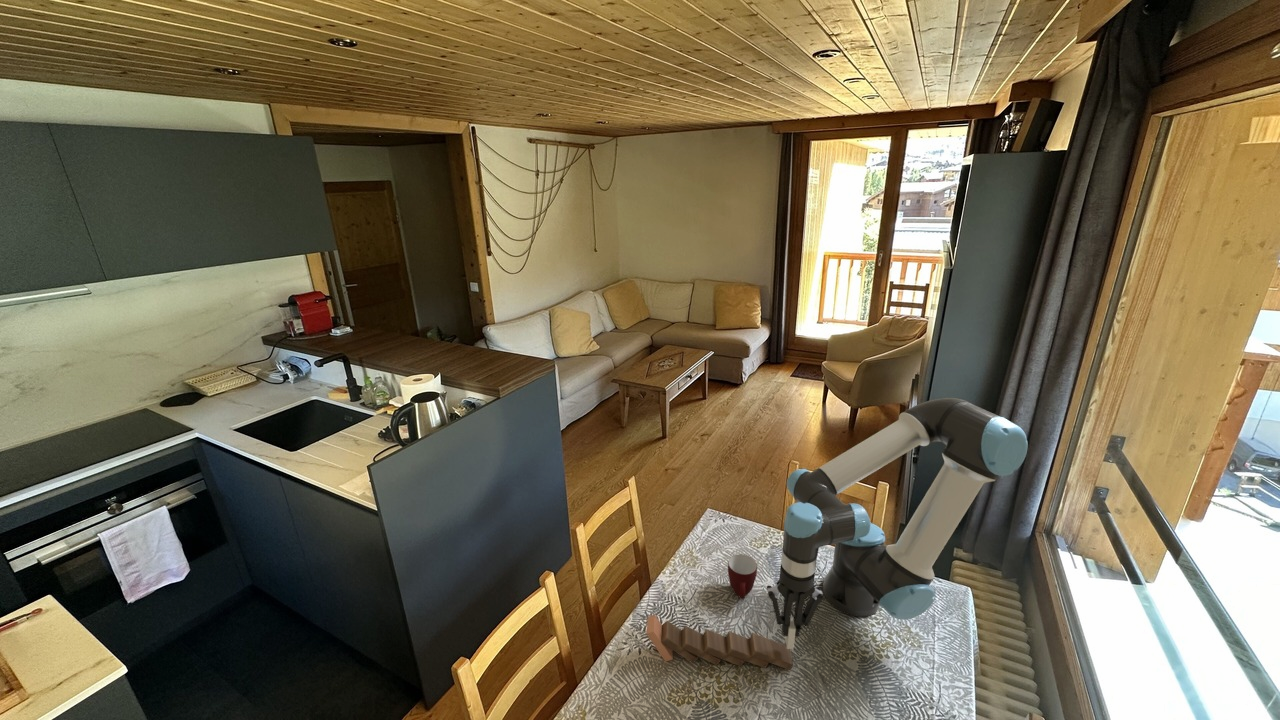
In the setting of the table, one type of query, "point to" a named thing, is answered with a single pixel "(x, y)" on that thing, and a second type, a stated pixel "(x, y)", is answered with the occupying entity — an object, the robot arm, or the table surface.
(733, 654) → the domino
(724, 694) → the table surface
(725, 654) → the domino
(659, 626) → the domino
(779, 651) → the domino
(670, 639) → the domino
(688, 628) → the domino
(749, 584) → the mug
